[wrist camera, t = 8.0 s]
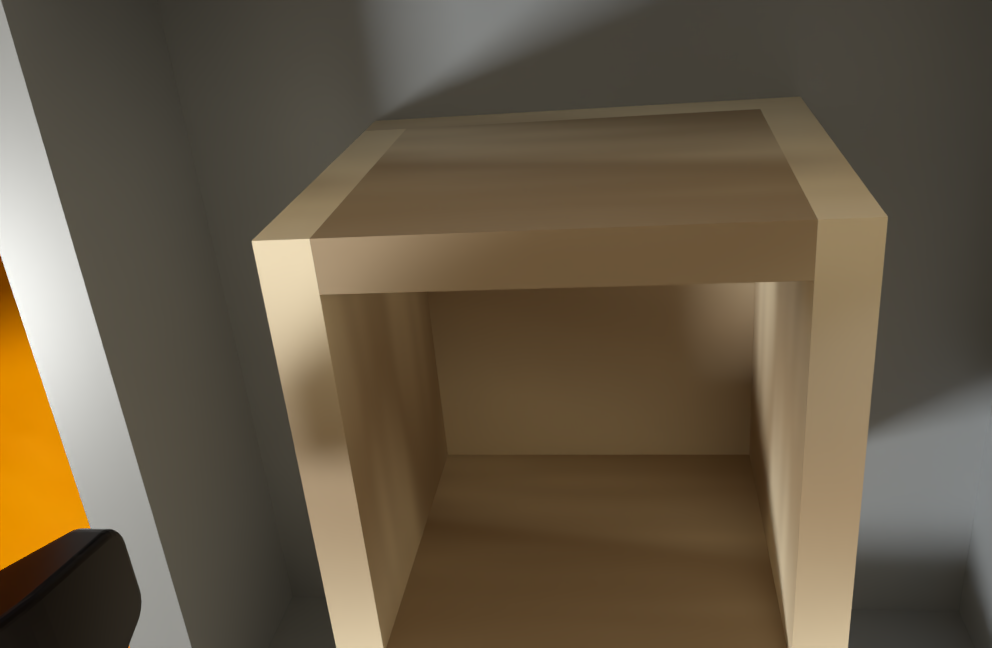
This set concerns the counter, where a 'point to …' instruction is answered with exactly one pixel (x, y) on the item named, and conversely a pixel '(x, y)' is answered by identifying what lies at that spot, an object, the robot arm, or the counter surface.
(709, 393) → the small crate
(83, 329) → the big crate
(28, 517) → the counter surface
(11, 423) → the counter surface
